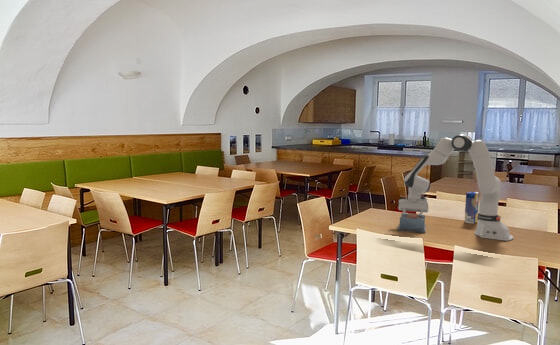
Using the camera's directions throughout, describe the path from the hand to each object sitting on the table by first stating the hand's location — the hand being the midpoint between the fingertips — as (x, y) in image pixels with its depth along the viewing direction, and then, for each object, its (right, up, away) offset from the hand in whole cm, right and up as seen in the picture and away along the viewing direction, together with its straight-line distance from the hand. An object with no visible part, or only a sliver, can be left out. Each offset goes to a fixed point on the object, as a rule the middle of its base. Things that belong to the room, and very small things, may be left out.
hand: (412, 215), depth 298 cm
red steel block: (0, -8, 0) cm, 8 cm away
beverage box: (+52, -7, +25) cm, 58 cm away
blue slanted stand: (0, -9, +1) cm, 9 cm away
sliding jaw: (+2, -7, +7) cm, 10 cm away
